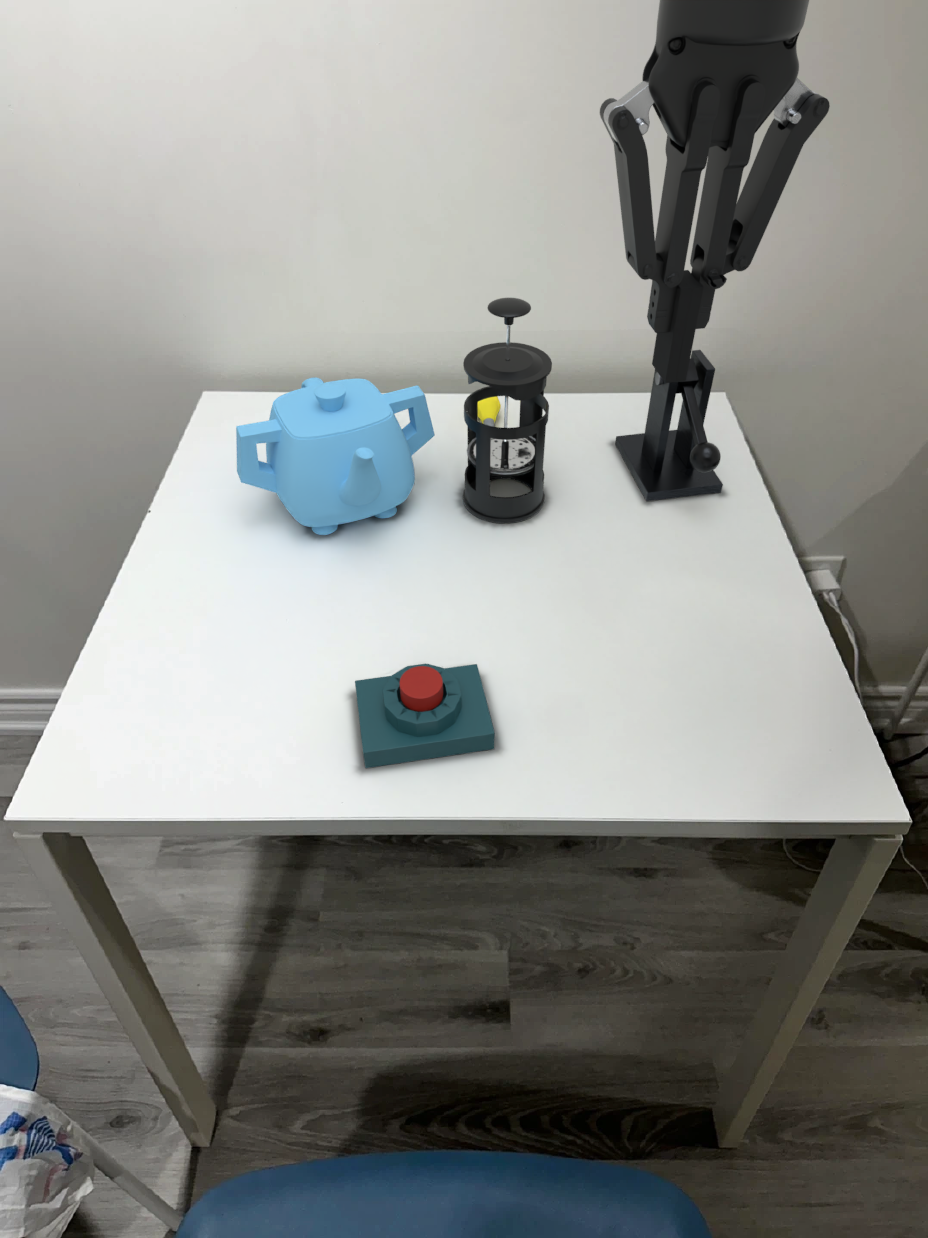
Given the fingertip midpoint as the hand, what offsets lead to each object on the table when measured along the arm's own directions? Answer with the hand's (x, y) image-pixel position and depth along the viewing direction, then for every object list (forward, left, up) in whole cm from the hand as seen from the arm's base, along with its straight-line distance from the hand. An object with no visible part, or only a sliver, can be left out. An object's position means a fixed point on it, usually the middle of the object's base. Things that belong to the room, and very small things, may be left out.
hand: (668, 372), depth 59 cm
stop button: (-4, +19, -26) cm, 32 cm away
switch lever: (+25, -15, -21) cm, 36 cm away
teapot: (+28, +23, -30) cm, 47 cm away
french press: (+27, +5, -30) cm, 40 cm away
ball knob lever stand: (+29, -15, -29) cm, 44 cm away
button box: (-4, +19, -29) cm, 35 cm away
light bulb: (+43, +4, -30) cm, 52 cm away
